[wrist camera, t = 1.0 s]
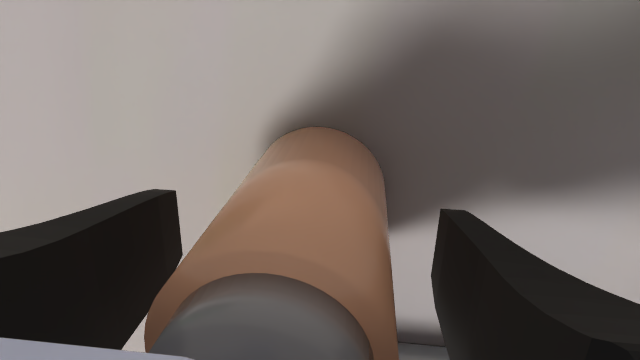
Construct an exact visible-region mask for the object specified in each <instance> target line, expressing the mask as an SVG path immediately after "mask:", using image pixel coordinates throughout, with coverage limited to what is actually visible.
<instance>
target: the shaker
mask: <svg viewBox="0 0 640 360" xmlns="http://www.w3.org/2000/svg"><path fill="white" fill-rule="evenodd" d="M144 340H145V351H146V353H153V354H163V355H172V356H182V357H188V358H191V359H194V360H399V354H398V342H397V330H396V317H395V305H394V293H393V281H392V268H391V256H390V244H389V232H388V219H387V207H386V195H385V184H384V178H383V174H382V171H381V168H380V166H379V164H378V162H377V160H376V159H375V157H374V156H373V154H372V153H371V152H370V151H369V149H368V148H367V147H366V146H364V145H363V144H362V143H361V142H360V141H358V140H357V139H356V138H354V137H352V136H350V135H349V134H347V133H344V132H342V131H339V130H336V129H332V128H326V127H307V128H301V129H298V130H294V131H292V132H290V133H287V134H285V135H284V136H282V137H280V138H279V139H277V140H276V141H275V142H274V143H272V145H271V146H270V147H269V148H268V149H267V150H266V151H265V153H264V154H263V155H262V157H261V158H260V159H259V160H258V162H257V163H256V164H255V166H254V167H253V168H252V170H251V171H250V172H249V174H248V175H247V176H246V178H245V179H244V180H243V182H242V183H241V184H240V186H239V187H238V188H237V190H236V191H235V192H234V193H233V195H232V196H231V197H230V199H229V200H228V201H227V203H226V204H225V205H224V207H223V208H222V209H221V211H220V212H219V213H218V215H217V216H216V217H215V219H214V220H213V221H212V223H211V224H210V225H209V226H208V228H207V229H206V230H205V232H204V233H203V234H202V236H201V237H200V238H199V240H198V241H197V242H196V244H195V245H194V246H193V248H192V249H191V250H190V252H189V253H188V254H187V256H186V257H185V258H184V259H183V261H182V262H181V263H180V265H179V266H178V267H177V269H176V270H175V271H174V273H173V274H172V275H171V277H170V278H169V279H168V281H167V282H166V283H165V285H164V286H163V287H162V289H161V290H160V291H159V293H158V294H157V296H156V297H155V299H154V301H153V303H152V305H151V307H150V309H149V312H148V316H147V319H146V323H145V334H144Z"/></svg>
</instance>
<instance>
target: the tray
mask: <svg viewBox="0 0 640 360" xmlns="http://www.w3.org/2000/svg"><path fill="white" fill-rule="evenodd" d="M398 354H399V360H450V359H449V356H448V352H447V348H446V347H439V346H429V345H419V344H409V343H399V342H398Z"/></svg>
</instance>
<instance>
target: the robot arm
mask: <svg viewBox="0 0 640 360" xmlns="http://www.w3.org/2000/svg"><path fill="white" fill-rule="evenodd" d="M182 255H183V254H182V244H181V235H180V225H179V216H178V206H177V197H176V191H174V190H159V189H153V190H147V191H142V192H138V193H135V194H132V195H128V196H125V197H122V198H119V199H116V200H113V201H110V202H107V203H104V204H101V205H98V206H95V207H92V208H89V209H86V210H82V211H79V212H76V213H72V214H69V215H66V216H63V217H59V218H56V219H53V220H49V221H46V222H42V223H39V224H35V225H31V226H27V227H23V228H18V229H14V230H10V231H5V232H1V233H0V360H194V359H191V358H188V357H182V356H172V355H163V354H153V353H144V352H134V351H125V350H121V349H122V348H123V346H124V345H125V344H126V342H127V341H128V340H129V338H130V337H131V335H132V334H133V333H134V331H135V330H136V328H137V327H138V326H139V324H140V323H141V321H142V320H143V319H144V317H145V316H146V315H147V313H148V312H149V309H150V307H151V305H152V303H153V301H154V299H155V297H156V296H157V294H158V293H159V291H160V290H161V289H162V287H163V286H164V285H165V283H166V282H167V281H168V279H169V278H170V277H171V275H172V274H173V273H174V271H175V270H176V268H177V266H178V264H179V261H180V259H181V257H182ZM431 279H432V287H433V295H434V303H435V309H436V312H437V316H438V320H439V323H440V327H441V331H442V334H443V338H444V341H445V345H446V348H447V352H448V356H449V359H450V360H640V304H637V303H635V302H632V301H630V300H627V299H625V298H622V297H619V296H617V295H614V294H612V293H609V292H607V291H604V290H602V289H600V288H597V287H595V286H593V285H591V284H588V283H586V282H584V281H582V280H580V279H578V278H576V277H574V276H572V275H570V274H568V273H566V272H564V271H562V270H559V269H558V268H556V267H554V266H552V265H550V264H548V263H546V262H545V261H543V260H541V259H540V258H538V257H536V256H535V255H533V254H531V253H530V252H528V251H526V250H525V249H523V248H521V247H520V246H518V245H517V244H515V243H514V242H512V241H511V240H509V239H508V238H506V237H505V236H503V235H502V234H500V233H499V232H497V231H496V230H494V229H493V228H492V227H490V226H489V225H487V224H486V223H484V222H483V221H481V220H480V219H478V218H477V217H475V216H474V215H472V214H471V213H469V212H467V211H465V210H451V209H441V210H440V217H439V224H438V231H437V238H436V245H435V252H434V259H433V266H432V272H431Z"/></svg>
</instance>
